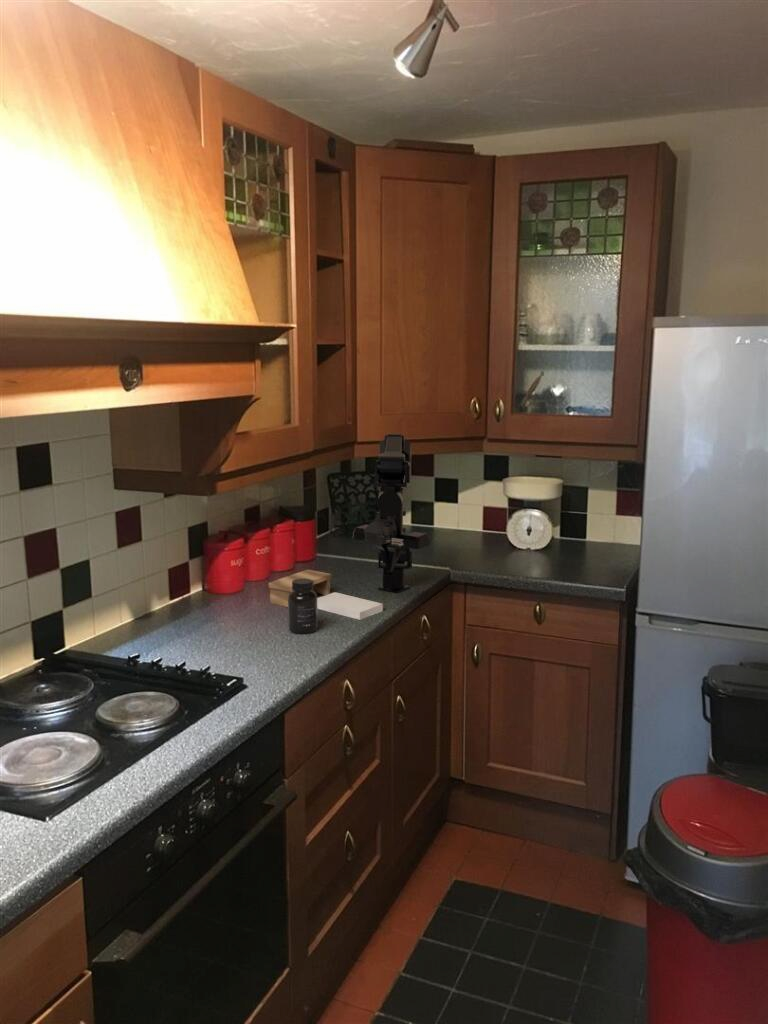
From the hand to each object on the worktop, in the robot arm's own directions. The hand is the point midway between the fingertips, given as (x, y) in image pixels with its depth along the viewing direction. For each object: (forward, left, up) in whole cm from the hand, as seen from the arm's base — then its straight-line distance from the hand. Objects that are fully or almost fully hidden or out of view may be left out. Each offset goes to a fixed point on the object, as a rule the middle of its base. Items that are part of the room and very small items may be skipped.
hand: (390, 571), depth 210 cm
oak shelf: (0, -28, -12) cm, 30 cm away
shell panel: (0, -13, -12) cm, 18 cm away
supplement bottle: (+19, -12, -12) cm, 26 cm away
